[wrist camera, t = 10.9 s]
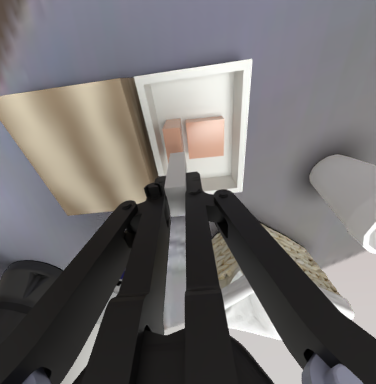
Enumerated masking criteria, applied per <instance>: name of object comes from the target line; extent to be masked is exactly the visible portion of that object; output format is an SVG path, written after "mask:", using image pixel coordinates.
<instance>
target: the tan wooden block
mask: <svg viewBox="0 0 376 384" xmlns="http://www.w3.org/2000/svg"><path fill="white" fill-rule="evenodd" d="M0 121H1V122H2V123H3V125H4V126H5V128H6V129H7V131H8V132H9V133H10V135H11V136H12V138H13V139H14V140H15V142H16V143H17V145H18V146H19V147H20V149H21V150H22V152H23V153H24V155H25V156H26V157H27V159H28V160H29V162H30V163H31V164H32V166H33V167H34V169H35V170H36V171H37V173H38V174H39V176H40V177H41V178H42V180H43V181H44V183H45V184H46V186H47V187H48V188H49V190H50V191H51V193H52V194H53V195H54V197H55V198H56V200H57V201H58V202H59V204H60V205H61V207H62V208H63V209H64V211H65V212H66V214H67V215H68V216H69V215H79V214H89V213H99V212H109V211H114V210H115V209H116V208H117V207H118V206H119V205H120V204H121V203H123V202H124V201H128V200H133V201H135V202H136V204H139V203H142V202H144V201H146V198H147V197H146V194H145V191H144V187H145V186H146V185H148V184H150V183H154V182H155V179H156V178H157V177H158V176H159V175H158V171H157V167H156V163H155V159H154V155H153V151H152V147H151V143H150V139H149V135H148V131H147V127H146V124H145V120H144V116H143V112H142V108H141V104H140V100H139V96H138V92H137V88H136V84H135V80H134V78H118V79H111V80H104V81H98V82H91V83H84V84H78V85H71V86H64V87H58V88H51V89H44V90H38V91H31V92H24V93H17V94H11V95H4V96H0Z"/></svg>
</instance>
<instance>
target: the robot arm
mask: <svg viewBox="0 0 376 384" xmlns="http://www.w3.org/2000/svg"><path fill="white" fill-rule="evenodd" d="M144 191H145V194H146V197H147V198H146V201H144V202H142V203H139V204H136V202H135V201H133V200H128V201H124V202H123V203H121V204H120V205H119V206H118V207H117V208H116V209H115V210H114V212H113V213H112V214H111V215H110V216H109V217H108V219H107V220H106V221H105V222H104V223H103V225H102V226H101V227H100V228H99V229H98V231H97V232H96V233H95V234H94V235H93V236H92V238H91V239H90V240H89V241H88V242H87V244H86V245H85V246H84V247H83V248H82V250H81V251H80V252H79V253H78V254H77V255H76V257H75V258H74V259H73V260H72V261H71V263H70V264H69V265H68V266H67V267H66V269H65V270H64V271H62V270H60V269H58V268H56V267H54V266H51V265H49V264H45V263H41V262H36V261H19V262H15V263H13V264H11V265H10V266H9V268H8V269H7V270H6V271H5V272H4V273H3V275H2V277H1V280H0V384H60V383H61V382H62V381H63V379H64V378H65V376H66V375H67V373H68V371H69V370H70V368H71V367H72V366H73V364H74V362H75V360H76V359H77V357H78V355H79V354H80V352H81V350H82V348H83V346H84V345H85V343H86V341H87V339H88V337H89V335H90V334H91V332H92V330H93V328H94V326H95V324H96V322H97V321H98V319H99V317H100V315H101V313H102V311H103V309H104V308H105V306H106V304H107V302H108V300H109V298H110V296H111V295H112V293H113V291H114V289H115V287H116V285H117V283H118V282H119V280H120V278H121V276H122V274H123V272H124V270H125V272H124V276H123V279H122V282H121V286H120V289H119V292H118V295H117V296H116V297H114V298H112V299H111V300H110V301H109V303H108V305H107V307H106V310H105V313H104V316H103V319H102V322H101V325H100V328H99V331H98V334H97V337H96V340H95V344H94V346H93V349H92V353H91V355H90V358H89V361H88V364H87V366H86V367H85V368H84V370H83V371H82V372H81V373H80V375H79V376H78V377H77V378H76V380H75V381H74V382H73V383H72V384H274V383H273V381H272V380H271V379H270V378H269V377H268V375H267V374H266V373H265V372H264V370H263V369H262V368H261V367H260V365H259V364H258V363H257V362H256V360H255V359H254V358H253V357H252V356H251V354H250V353H249V352H248V351H247V350H246V348H245V347H244V346H242V344H241V343H239V342H238V341H237V340H235V339H234V338H233V337H231V336H230V335H229V329H228V324H227V318H226V312H225V307H224V301H223V296H222V291H221V288H220V285H219V279H218V274H217V268H216V262H215V256H214V250H213V245H212V239H211V233H210V227H209V222H208V221H210V222H215V225H216V227H217V228H218V230H219V232H220V233H221V235H222V237H223V239H224V240H225V242H226V244H227V246H228V247H229V249H230V251H231V253H232V254H233V256H234V258H235V260H236V261H237V263H238V265H239V266H240V268H241V270H242V272H243V273H244V275H245V277H246V279H247V280H248V282H249V284H250V286H251V287H252V289H253V291H254V293H255V294H256V296H257V298H258V299H259V301H260V303H261V305H262V306H263V308H264V310H265V312H266V313H267V315H268V317H269V319H270V320H271V322H272V324H273V326H274V327H275V329H276V331H277V332H278V334H279V336H280V337H281V339H282V341H283V342H284V344H285V345H286V347H287V349H288V350H289V352H290V353H291V354H292V356H293V357H294V358H295V360H296V361H297V362H298V364H299V365H300V366H301V368H302V369H303V372H302V384H376V339H375V338H374V337H373V336H371V335H370V334H369V333H367V332H366V331H365V330H363V329H362V328H361V327H359V326H358V325H357V324H356V323H354V322H353V321H352V320H350V319H349V318H348V317H346V316H345V315H344V314H342V313H341V312H340V311H339V310H338V309H337V308H336V306H335V305H334V304H333V303H332V302H331V301H330V300H329V299H328V298H327V297H326V295H325V294H324V293H323V292H322V291H321V290H320V289H319V288H318V287H317V285H316V284H315V283H314V282H313V281H312V280H311V279H310V278H309V277H308V276H307V274H306V273H305V272H304V271H303V270H302V269H301V268H300V267H299V266H298V264H297V263H296V262H295V261H294V260H293V259H292V258H291V257H290V256H289V255H288V253H287V252H286V251H285V250H284V249H283V248H282V247H281V246H280V245H279V243H278V242H277V241H276V240H275V239H274V238H273V237H272V236H271V235H270V234H269V232H268V231H267V230H266V229H265V228H264V227H263V226H262V225H261V224H260V222H259V221H258V220H257V219H256V218H255V217H254V216H253V215H252V214H251V213H250V211H249V210H248V209H247V208H246V207H245V206H244V205H243V204H242V203H241V201H240V200H239V199H238V198H237V197H236V196H235V195H234V194H233V193H232V192H231V191H230V190H227V189H221V190H217V191H216V192H214V194H208V193H205V192H204V191H203V189H202V184H201V179H200V174H199V173H198V172H197V171H196V172H188V173H187V165H186V158H185V152H178V153H170V157H169V163H168V169H167V175H166V176H158V177H157V178H156V179H155V182H154V183H150V184H148V185H146V186H145V187H144ZM170 215H171V217H175V216H185V219H186V292H185V328H184V329H182V330H179V331H177V332H174V333H172V334H170V335H164V325H163V311H164V299H165V287H166V274H167V262H168V250H169V237H170V225H171V220H170ZM125 229H126V231H125ZM124 231H125V232H124Z"/></svg>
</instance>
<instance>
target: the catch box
mask: <svg viewBox="0 0 376 384" xmlns="http://www.w3.org/2000/svg"><path fill="white" fill-rule="evenodd" d="M251 71H252V59H248V60H242V61H235V62H228V63H222V64H215V65H208V66H202V67H195V68H188V69H182V70H175V71H168V72H161V73H155V74H148V75H141V76H135V77H134V80H135V84H136V88H137V92H138V96H139V100H140V104H141V108H142V112H143V116H144V120H145V124H146V127H147V131H148V135H149V139H150V143H151V147H152V151H153V155H154V159H155V163H156V167H157V171H158V175H159V176H166V175H167V169H168V159H167V154H166V148H165V142H164V136H163V130H162V129H163V126H164V124H165V122H166V120H168V119H178V118H181V125H182V134H183V143H184V152H185V158H186V165H187V173H188V172H196V171H197V172H198V173H199V174H200V179H201V184H202V189H203V191H204V192H205V193H208V194H214V192H216V191H217V190H221V189H227V190H230V191H231V192H232V193H235V192H242V189H243V176H244V163H245V150H246V137H247V124H248V111H249V97H250V84H251ZM216 116H222V117H223V118H224V119H225V124H224V156H216V157H206V158H195V159H189V152H188V142H187V132H186V120H187V119H197V118H206V117H216Z"/></svg>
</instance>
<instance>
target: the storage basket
mask: <svg viewBox="0 0 376 384" xmlns="http://www.w3.org/2000/svg"><path fill="white" fill-rule="evenodd" d="M260 224H261V223H260ZM261 225H262V226H263V227H264V228H265V229H266V230H267V231H268V232H269V234H270V235H271V236H272V237H273V238H274V239H275V240H276V241H277V242H278V243H279V245H280V246H281V247H282V248H283V249H284V250H285V251H286V252H287V253H288V255H289V256H290V257H291V258H292V259H293V260H294V261H295V262H296V263H297V264H298V266H299V267H300V268H301V269H302V270H303V271H304V272H305V273H306V274H307V276H308V277H309V278H310V279H311V280H312V281H313V282H314V283H315V284H316V285H317V287H318V288H319V289H320V290H321V291H322V292H323V293H324V294H325V295H326V297H327V298H328V299H329V300H330V301H331V302H332V303H333V304H334V305H335V306H336V308H337V309H338V310H339V311H340V312H341V313H342V314H344V315H345V316H346V317H348V318H349V319H350V320H353V319H354V315H355V313H354V311H353V310H352V308H351V305H350V303H349V302H348V300H346V299H345V298H343V297H342V296H341V295H340V294H339V293H338V292H337V290H336V288H335V287H334V286H333V285H332V283H331V282H330V281H329V280H328V278H327V276H326V274H325V273H324V272H323V271H322V270H321V269H320V267H319V265H318V264H317V263H316V262H315V261H313V258H312V257H311V255H310V254H309V253H308V252H307V250H306V249H305V248H304V247H302V246H300V245H299V244H297V243H295V242H294V241H292V240H290V239H289V238H288V237H286V236H283V235H282V234H280V233H278V232H276V231H274V230H272V229H270V228H268V227H266V226H265V225H263V224H261ZM212 245H213V250H214V256H215V262H216V268H217V274H218V279H219V285H220V288H221V291H222V296H223V301H224V307H225V312H226V318H227V324H228V328H232V329H237V330H241V331H245V332H250V333H254V334H258V335H262V336H266V337H269V338H273V339H277V340H281V341H282V339H281V337H280V336H279V334H278V332H277V331H276V329H275V327H274V326H273V324H272V322H271V320H270V319H269V317H268V315H267V313H266V312H265V310H264V308H263V306H262V305H261V303H260V301H259V299H258V298H257V296H256V294H255V293H254V291H253V289H252V287H251V286H250V284H249V282H248V280H247V279H246V277H245V275H244V273H243V272H242V270H241V268H240V266H239V265H238V263H237V261H236V260H235V258H234V256H233V254H232V253H231V251H230V249H229V247H228V246H227V244H226V242H225V240H224V239H223V237H222V235H221V233H218V234H216V235H215V236H214V238H213V239H212Z"/></svg>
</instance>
